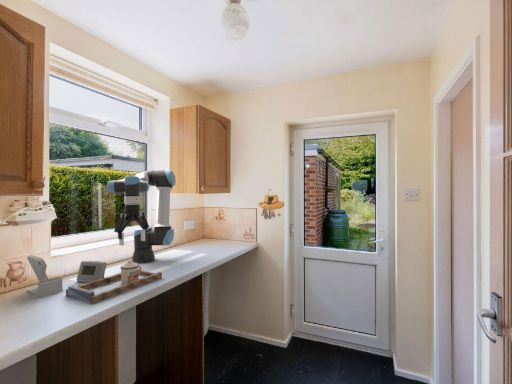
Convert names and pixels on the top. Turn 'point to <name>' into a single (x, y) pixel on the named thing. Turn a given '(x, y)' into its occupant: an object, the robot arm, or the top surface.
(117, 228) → the robot arm
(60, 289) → the phone holder
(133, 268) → the teacup with lid
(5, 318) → the top surface
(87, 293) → the open rectangular wooden frame
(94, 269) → the digital clock
